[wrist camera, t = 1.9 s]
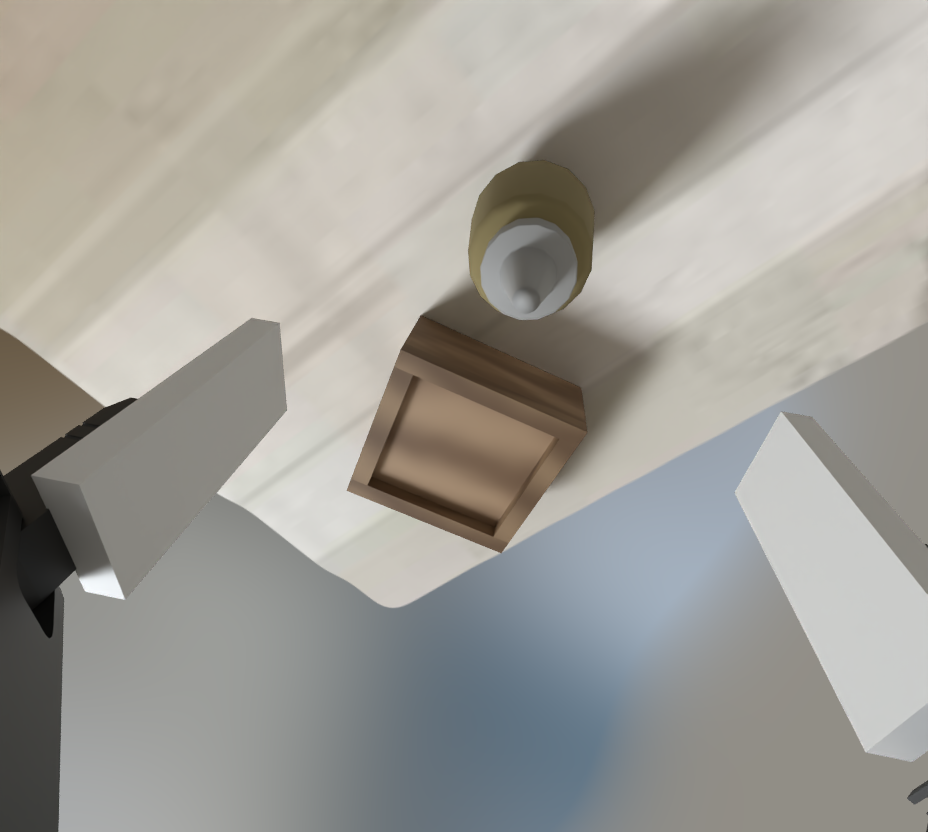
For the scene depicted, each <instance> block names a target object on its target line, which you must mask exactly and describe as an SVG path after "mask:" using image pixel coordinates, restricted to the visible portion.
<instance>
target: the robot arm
mask: <svg viewBox="0 0 928 832" xmlns="http://www.w3.org/2000/svg"><path fill="white" fill-rule="evenodd" d="M286 411H287V405H286V393H285V381H284V369H283V358H282V346H281V334H280V323H277V322H272V321H266V320H260V319H255V318H251V319H250V320H248V321H247V322H245V323H244V324H243V325H241V326H240V327H238V328H237V329H236V330H234V331H233V332H231V333H230V334H229V335H227V336H226V337H224V338H223V339H222V340H220V341H219V342H217V343H216V344H215V345H213V346H212V347H210V348H209V349H208V350H206V351H205V352H203V353H202V354H201V355H199V356H198V357H196V358H195V359H193V360H192V361H191V362H189V363H188V364H186V365H185V366H184V367H182V368H181V369H179V370H178V371H177V372H175V373H174V374H172V375H171V376H170V377H168V378H167V379H165V380H164V381H163V382H161V383H160V384H158V385H157V386H156V387H154V388H153V389H151V390H150V391H149V392H147V393H146V394H144V395H143V396H142V397H140V398H139V399H135V398H129V399H126V400H123V401H121V402H118V403H116V404H113V405H111V406H108V407H105V408H103V409H102V410H100V411H99V412H97V413H96V414H94V415H93V416H92V417H90V418H89V419H87V420H86V421H84V422H83V425H82V426H80V425H78V426H77V427H75V428H74V429H72V430H71V431H69V432H68V433H67V434H66V436H65V437H64V438H62V437H60V438H59V439H58V440H56V441H55V442H53V443H52V444H50V445H49V446H47V447H46V448H44V449H43V450H41V451H40V452H39V453H37V454H35V455H34V456H33V457H31V458H29V459H28V460H27V461H25V462H24V463H22V464H21V465H19V466H18V467H16V468H15V469H13V470H12V471H11V472H9V473H8V474H6V475H4V476H3V475H2V473H1V471H0V832H58V823H59V821H58V820H59V782H60V781H59V780H60V741H61V699H62V658H63V655H62V654H63V618H64V617H63V616H64V597H63V594H62V591H61V589H60V587H59V585H60V584H61V583H62V582H63V581H64V580H65V579H66V578H67V577H68V576H70V574H72V572H73V571H76V573H77V575H78V577H79V579H80V582H81V584H82V586H83V588H84V590H85V592H90V593H95V594H100V595H105V596H110V597H114V598H119V599H124V600H125V599H126V598H127V597H128V596H129V595H130V593H131V592H132V591H133V590H134V589H135V588H136V587H137V585H138V584H139V583H140V582H141V581H142V580H143V578H144V577H145V576H146V575H147V574H148V572H149V571H150V570H151V569H152V568H153V567H154V565H155V564H156V563H157V562H158V561H159V560H160V558H161V557H162V556H163V555H164V554H165V553H166V551H167V550H168V549H169V548H170V547H171V545H172V544H173V543H174V542H175V541H176V540H177V538H178V537H179V536H180V535H181V534H182V533H183V531H184V530H185V529H186V528H187V527H188V526H189V524H190V523H191V522H192V521H193V520H194V518H195V517H196V516H197V515H198V514H199V513H200V511H201V510H202V509H203V508H204V507H205V505H206V504H207V503H208V502H209V501H210V500H211V499H212V497H213V496H214V495H215V494H216V493H217V492H218V490H219V489H220V488H221V487H222V486H223V485H224V483H225V482H226V481H227V480H228V479H229V478H230V476H231V475H232V474H233V473H234V472H235V470H236V469H237V468H238V467H239V466H240V465H241V463H242V462H243V461H244V460H245V459H246V458H247V456H248V455H249V454H250V453H251V452H252V451H253V449H254V448H255V447H256V446H257V445H258V443H259V442H260V441H261V440H262V439H263V438H264V436H265V435H266V434H267V433H268V432H269V431H270V429H271V428H272V427H273V426H274V425H275V424H276V422H277V421H278V420H279V419H280V418H281V417H282V415H283V414H284V413H285V412H286ZM735 495H736V497H737V499H738V500H739V503H740V505H741V507H742V509H743V511H744V513H745V515H746V517H747V518H748V521H749V523H750V525H751V526H752V528H753V530H754V532H755V534H756V536H757V538H758V540H759V542H760V544H761V546H762V548H763V550H764V552H765V554H766V556H767V558H768V560H769V562H770V564H771V566H772V568H773V570H774V572H775V574H776V576H777V578H778V580H779V582H780V584H781V586H782V588H783V590H784V592H785V593H786V596H787V598H788V600H789V602H790V604H791V606H792V607H793V610H794V612H795V614H796V615H797V617H798V619H799V621H800V623H801V625H802V627H803V629H804V631H805V633H806V635H807V637H808V639H809V641H810V643H811V645H812V647H813V649H814V651H815V653H816V655H817V657H818V659H819V661H820V663H821V665H822V667H823V669H824V671H825V673H826V675H827V677H828V678H829V681H830V683H831V685H832V687H833V689H834V691H835V692H836V695H837V697H838V699H839V700H840V703H841V705H842V706H843V708H844V710H845V712H846V714H847V716H848V718H849V720H850V722H851V724H852V726H853V728H854V730H855V732H856V734H857V736H858V738H859V740H860V742H861V744H862V746H863V748H864V750H865V752H867V753H872V754H876V755H881V756H886V757H891V758H897V759H901V760H906V761H910V762H913V761H914V760H915V759H917V758H918V757H920V756H921V755H922V754H924V753H925V752H926V751H928V545H927V544H924V543H923V542H922V541H921V540H920V538H919V537H918V536H917V535H916V534H915V533H914V532H913V531H912V530H911V528H910V527H909V526H908V525H907V524H906V523H905V521H904V520H903V519H902V518H901V517H900V516H899V515H898V514H897V513H896V511H895V510H894V509H893V508H892V507H891V506H890V505H889V504H888V502H887V501H886V500H885V499H884V498H883V497H882V496H881V494H880V493H879V492H878V491H877V490H876V489H875V488H874V486H873V485H872V484H871V483H870V482H869V481H868V480H867V479H866V477H865V476H864V475H863V474H862V473H861V472H860V471H859V470H858V468H857V467H856V466H855V465H854V464H853V463H852V462H851V460H850V459H849V458H848V457H847V456H846V455H845V454H844V453H843V451H842V450H841V449H840V448H839V447H838V446H837V445H836V443H834V441H833V440H832V439H831V438H830V437H829V436H828V434H827V433H826V432H825V431H824V430H823V429H822V428H821V427H820V426H819V424H818V423H817V422H816V421H815V420H814V419H813V418H812V417H810V416H804V415H798V414H792V413H787V412H781V413H780V415H779V416H778V418H777V420H776V421H775V423H774V425H773V427H772V428H771V430H770V432H769V434H768V435H767V437H766V439H765V441H764V442H763V444H762V446H761V448H760V449H759V451H758V453H757V454H756V457H755V458H754V460H753V461H752V463H751V465H750V467H749V468H748V470H747V472H746V474H745V475H744V477H743V479H742V481H741V483H740V484H739V486H738V488H737V489H736V491H735ZM926 797H928V781H926V782H925V783H923V784H922V785H920V786H919V787H917V788H916V789H914V790H913V791H912V792H911V794H910V795H909V796H908V798H907V799H908V800H909V801H911V802H912V803H913V804H916V803H918V802H920V801H921V800H923V799H925V798H926ZM927 815H928V812H927ZM926 832H928V826H927V831H926Z"/></svg>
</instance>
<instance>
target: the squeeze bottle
mask: <svg viewBox="0 0 928 832" xmlns="http://www.w3.org/2000/svg"><path fill="white" fill-rule="evenodd" d="M594 214H595V212H594V209H593V206H592V203H591V200H590V197H589V195H588V192H587V189H586V187H585V186H584V185H583V184H582V183H581V182H580V181H579V180H578V179H577V178H576V177H575V176H574V175H573V174H572V172H571V171H570V170H569V169H567V168H564V167H561V166H559V165H556V164H553V163H551V162H548V161H545V160H540V161H528V162H518V163H516V164H515V165H513V166H511V167H509V168H507V169H505V170H504V171H502V172H500V173H498V174H496V175H495V176H494V178H493V179H492V180H491V181H490V183H489V184H488V185H487V186H486V188H485V189H484V190H483V191H482V193H481V194H480V195H479V198H478V201H477V205H476V208H475V211H474V214H473V218H472V223H471V231H470V240H469V249H468V255H469V268H470V276H471V278H472V280H473V282H474V284H475V286H476V288H477V290H478V292H479V294H480V296H481V297H482V298H483V299H484V300H485V301H486V302H488V303H489V304H490V305H491V306H492V307H493V308H494V309H495V310H497V311H498V312H501V313H502V314H504V315H507V316H510V317H513V318H515V319H518V320H538V319H540V318H543V317H546V316H548V315H550V314H553V313H555V312H557V311H560V310H562V309H564V308H565V307H566V306H567V305H568V304H569V303H570V302H571V301H572V300H573V299H574V298H575V297H576V296H578V295H579V294H580V293H581V291H582V289H583V287H584V285H585V283H586V280H587V278H588V276H589V274H590V272H591V269H592V251H593V232H594Z"/></svg>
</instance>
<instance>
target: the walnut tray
mask: <svg viewBox="0 0 928 832" xmlns="http://www.w3.org/2000/svg"><path fill="white" fill-rule="evenodd" d="M586 434H587V426H586V418H585V411H584V404H583V397H582V390H581V388H580V387H578V386H576V385H574V384H572V383H569V382H567V381H565V380H563V379H561V378H558V377H556V376H554V375H552V374H549V373H547V372H545V371H543V370H541V369H538V368H536V367H534V366H532V365H530V364H527V363H525V362H523V361H521V360H519V359H516V358H514V357H512V356H510V355H508V354H505V353H503V352H501V351H499V350H496V349H494V348H492V347H490V346H488V345H485V344H483V343H481V342H479V341H477V340H474V339H472V338H470V337H468V336H466V335H463V334H461V333H459V332H457V331H454V330H452V329H450V328H448V327H446V326H443V325H441V324H439V323H437V322H435V321H432V320H430V319H428V318H426V317H424V316H420V318H419V319H418V321H417V323H416V325H415V326H414V328H413V330H412V331H411V333H410V335H409V336H408V338H407V340H406V342H405V343H404V345H403V347H402V348H401V350H400V353H399V355H398V358H397V361H396V363H395V366H394V368H393V371H392V374H391V376H390V379H389V382H388V384H387V387H386V389H385V392H384V395H383V397H382V400H381V402H380V405H379V408H378V410H377V413H376V415H375V418H374V421H373V423H372V426H371V428H370V431H369V434H368V436H367V439H366V441H365V444H364V447H363V449H362V452H361V454H360V457H359V460H358V462H357V465H356V468H355V470H354V473H353V475H352V478H351V481H350V483H349V486H348V488H347V491H349V492H351V493H354V494H356V495H359V496H361V497H364V498H366V499H369V500H371V501H374V502H376V503H379V504H381V505H384V506H386V507H389V508H391V509H393V510H396V511H398V512H401V513H403V514H406V515H408V516H411V517H413V518H416V519H418V520H421V521H423V522H426V523H428V524H431V525H433V526H435V527H438V528H440V529H443V530H445V531H448V532H450V533H453V534H455V535H458V536H460V537H463V538H465V539H468V540H470V541H473V542H475V543H477V544H480V545H482V546H485V547H487V548H490V549H492V550H495V551H497V552H500V553H502V551H503V550H504V549H505V547H506V546H507V544H508V543H509V542H510V540H511V539H512V537H513V536H514V535H515V533H516V532H517V530H518V529H519V528H520V526H521V525H522V523H523V522H524V521H525V519H526V518H527V516H528V515H529V514H530V512H531V511H532V509H533V508H534V507H535V505H536V504H537V502H538V501H539V500H540V498H541V497H542V495H543V494H544V493H545V491H546V490H547V488H548V487H549V486H550V484H551V483H552V481H553V480H554V479H555V477H556V476H557V474H558V473H559V472H560V470H561V469H562V467H563V466H564V465H565V463H566V462H567V460H568V459H569V458H570V456H571V455H572V453H573V452H574V451H575V449H576V448H577V446H578V445H579V444H580V442H581V441H582V439H583V438H584V436H585V435H586Z"/></svg>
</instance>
